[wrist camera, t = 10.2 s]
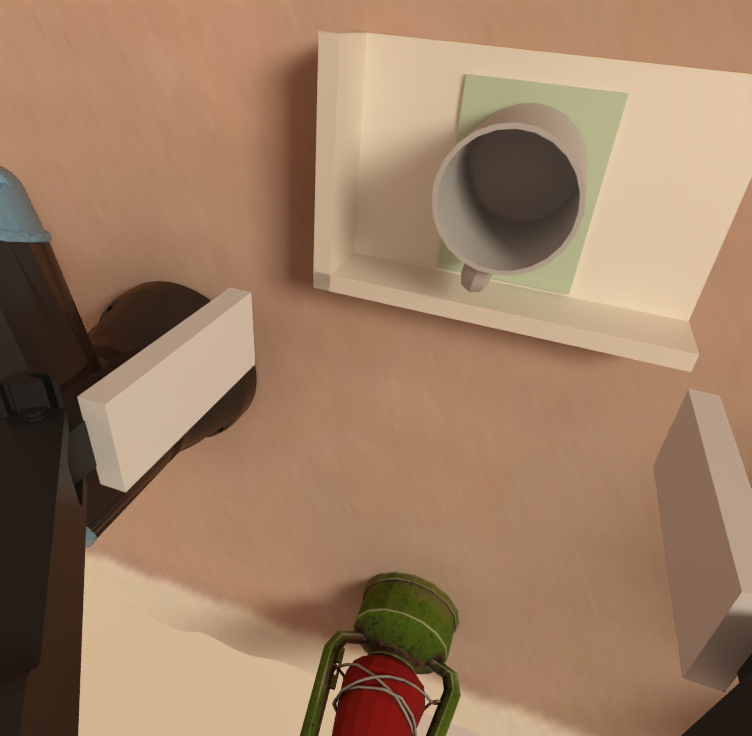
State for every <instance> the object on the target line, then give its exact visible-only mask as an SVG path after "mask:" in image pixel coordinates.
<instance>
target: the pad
mask: <svg viewBox="0 0 752 736" xmlns="http://www.w3.org/2000/svg"><path fill="white" fill-rule="evenodd" d="M628 94H629V93H623V92H615V91H606V90H598V89H590V88H582V87H573V86H565V85H557V84H548V83H540V82H532V81H524V80H515V79H507V78H499V77H490V76H482V75H474V74H466V78H465V85H464V92H463V98H462V105H461V112H460V118H459V125H458V132H457V138H456V145H457V144H458V143H459V142H460V141H461V140H462V139H463V138H464V137H466V136H467V135H468V134H469V133H470V132H472V131H473V130H474V129H475V128H476V127H478V126H479V125H480V124H481V123H482V122H484V121H485V120H486V119H488V118H489V117H491V116H492V115H493V114H495V113H496V112H498V111H499V110H502V109H505V108H507V107H510V106H513V105H516V104H524V103H538V104H543V105H548V106H551V107H553V108H555V109H557V110H558V111H560V112H562V113H564V114H565V115H566V116H567V117H568V118H569V119H570V120H571V121H572V122H573V123H574V124H575V125H576V126H577V128H578V130H579V132H580V134H581V136H582V138H583V140H584V142H585V146H586V152H587V157H588V168H587V187H586V201H585V212H584V216H583V218H582V221H581V224H580V227H579V229H578V232H577V234H576V235H575V237H574V238H573V239H572V241H571V242H570V244H569V245H568V247H567V248H566V249H565V250H564V251H563V252H562V253H561V254H560V255H558V256H557V257H556V258H555V259H554V260H553V261H551V262H550V263H548V264H546V265H544V266H542V267H540V268H538V269H536V270H534V271H532V272H528V273H523V274H519V275H514V276H509V275H492V277H491V278H492V279H497V280H502V281H507V282H512V283H517V284H521V285H526V286H531V287H536V288H541V289H546V290H551V291H556V292H561V293H566V294H569V293H570V290H571V287H572V283H573V280H574V276H575V273H576V270H577V266H578V263H579V260H580V256H581V253H582V249H583V246H584V243H585V239H586V236H587V233H588V229H589V226H590V222H591V219H592V216H593V212H594V209H595V206H596V202H597V199H598V195H599V192H600V189H601V185H602V182H603V179H604V175H605V172H606V168H607V165H608V162H609V158H610V155H611V152H612V148H613V145H614V141H615V138H616V135H617V131H618V128H619V125H620V121H621V118H622V114H623V111H624V108H625V104H626V101H627V98H628ZM456 145H455V146H456ZM463 266H464V263H463V262H461V261H460V260H459V259H458V258H457V257H456V256H455V255H454V254H453V253H452V252H451V251H450V250H449V249H448V248H447V246H446V245H445V243H444V242H443V240H442V238H441V245H440V251H439V258H438V265H437V267H438V268H443V269H448V270H453V271H458V272H461V271H462V268H463Z"/></svg>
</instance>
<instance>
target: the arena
mask: <svg viewBox="0 0 752 736" xmlns="http://www.w3.org/2000/svg"><path fill="white" fill-rule="evenodd" d="M466 74H474V75H482V76H490V77H499V78H507V79H515V80H524V81H532V82H540V83H548V84H557V85H565V86H573V87H582V88H590V89H598V90H606V91H615V92H623V93H629V94H628V98H627V101H626V104H625V108H624V111H623V114H622V118H621V121H620V125H619V128H618V131H617V135H616V138H615V141H614V145H613V148H612V152H611V155H610V158H609V162H608V165H607V168H606V172H605V175H604V179H603V182H602V185H601V189H600V192H599V195H598V199H597V202H596V206H595V209H594V212H593V216H592V219H591V222H590V226H589V229H588V233H587V236H586V239H585V243H584V246H583V249H582V253H581V256H580V260H579V263H578V266H577V270H576V273H575V276H574V280H573V283H572V287H571V290H570V293H569V294H566V293H561V292H556V291H551V290H546V289H541V288H536V287H531V286H526V285H521V284H517V283H512V282H507V281H502V280H497V279H492V278H491V279H490V281H489V283H488V285H487V286H486V287H485V288H484V289H483V290H482V291H480V292H468V291H467V290H466V289H465V288H464V287H463V286H462V285H461V272H458V271H453V270H448V269H443V268H438V267H437V265H438V258H439V251H440V245H441V237H440V235H439V234H438V231H437V228H436V224H435V221H434V218H433V213H432V192H433V187H434V182H435V177H436V175H437V173H438V171H439V169H440V167H441V165H442V163H443V161H444V159H445V158H446V156H447V155H448V154H449V153H450V152H451V151H452V149H453V148H454V147H455V145H456V138H457V132H458V125H459V118H460V112H461V105H462V98H463V92H464V85H465V78H466ZM751 177H752V74H747V73H738V72H728V71H719V70H710V69H701V68H691V67H682V66H673V65H664V64H654V63H645V62H636V61H627V60H617V59H608V58H599V57H590V56H580V55H571V54H562V53H553V52H543V51H534V50H525V49H516V48H506V47H497V46H488V45H479V44H469V43H460V42H451V41H442V40H432V39H423V38H414V37H405V36H395V35H386V34H377V33H367V32H358V31H319V35H318V82H317V129H316V175H315V222H314V269H313V288H317V289H321V290H326V291H330V292H335V293H339V294H344V295H348V296H353V297H357V298H362V299H366V300H371V301H375V302H380V303H384V304H389V305H393V306H397V307H402V308H406V309H411V310H415V311H420V312H424V313H429V314H433V315H438V316H442V317H447V318H451V319H456V320H460V321H465V322H469V323H474V324H478V325H482V326H487V327H491V328H496V329H500V330H505V331H509V332H514V333H518V334H523V335H527V336H532V337H536V338H541V339H545V340H550V341H554V342H559V343H563V344H567V345H572V346H576V347H581V348H585V349H590V350H594V351H599V352H603V353H608V354H612V355H617V356H621V357H626V358H630V359H635V360H639V361H643V362H648V363H652V364H657V365H661V366H666V367H670V368H675V369H679V370H684V371H688V372H691V371H692V369H693V367H694V365H695V363H696V361H697V358H698V356H699V352H698V349H697V346H696V343H695V340H694V337H693V333H692V330H691V327H690V324H689V319H690V317H691V314H692V312H693V310H694V308H695V305H696V303H697V301H698V298H699V296H700V294H701V292H702V289H703V287H704V285H705V282H706V280H707V278H708V276H709V273H710V271H711V269H712V266H713V264H714V262H715V260H716V257H717V255H718V253H719V250H720V248H721V246H722V244H723V241H724V239H725V237H726V234H727V232H728V230H729V227H730V225H731V223H732V221H733V218H734V216H735V214H736V211H737V209H738V207H739V205H740V202H741V200H742V198H743V195H744V193H745V191H746V189H747V186H748V184H749V182H750V179H751Z"/></svg>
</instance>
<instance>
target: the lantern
mask: <svg viewBox="0 0 752 736" xmlns="http://www.w3.org/2000/svg"><path fill="white" fill-rule="evenodd" d="M458 624H459V618H458V610H457V608H456V607H455V605H454V603H453V602H452V600H451V599H450V597H449V596H448V595H447V594H446V593H444V592H443V591H442V590H441V589H440V588H438V587H437V586H436V585H435V584H433V583H431V582H428V581H426V580H424V579H422V578H420V577H418V576H416V575H410V574H405V573H400V572H391V573H383V574H379V575H377V576H376V577H374V578H372V579H371V580H369V581H368V584H367V586H366V588H365V591H364V595H363V603H362V606H361V608H360V611H359V613H358V616H357V618H356V621H355V623H354V626H353V628H354V631H337V632H336V633H335V634H334V636H333V637H332V638H331V639H330V640H329V641H328V642H327V643H326V644H325V646H324V649H323V653H322V656H321V660H320V664H319V667H318V671H317V675H316V678H315V682H314V686H313V690H312V693H311V697H310V700H309V704H308V708H307V712H306V715H305V719H304V722H303V726H302V730H301V734H300V736H318V735H319V731H320V727H321V722H322V718H323V715H324V711H325V707H326V702H327V699H328V694H329V690H330V689H333V690H335V687H336V683H337V679H338V675H339V672H340V673H341V675H342V676H343V682H342V687H341V691H340V692H339V694H338V695H337V697H336V698H335V699H334V701H333V703H332V705H333V707H334V709H335V711H336V716H335V721H334V727H333V732H332V736H416V735H417V732H416V728H417V726H418V724H419V722H420V719H421V716H422V715H423V712H424V710H426V709H427V708H428V707H429V706H430V705H431V704H433V705H438V706H437V709H436V711H435V714H434V716H433V719H432V722H431V724H430V727H429V729H428V732H427V734H426V736H446V734H447V731H448V728H449V726H450V723H451V721H452V718H453V715H454V713H455V710H456V707H457V704H458V702H459V699H460V696H461V695H460V686H459V678H458V674H457V673H456V672H455V671H453V670H452V669H451V668H449V667H448V666H447V665H446V664H445V662H446V661H447V658H448V654H449V650H450V645H451V641H452V637H453V634H454V632H455V631H456V629H457V627H458ZM346 643H351V644H360V645H361V646H362V648H363V649H364V650H365V651H366V652H367V653H368V655H367V656H362V657H360V658H358V659H356V660H354V661H353V663H345V664H341V663H342V659H343V655H344V651H345V648H343V647H344V646H345V645H346ZM336 663H339V665H338V666H337V664H336ZM344 666H350V667H349V668H348V670H347V671H346V674H345V675H344V673H343V672H342V671H341V669H340V668H341V667H344ZM336 669H337V673H336V675H334V671H335V670H336ZM432 672H435V673H436V674H438V675H439V676H441V677H442V678H443V686H444V691H443V694H442V696H441V699H440V700H433V701H432V700H431V699H430V698H429V696H428V695H427V694H426V693H425V692H424V686H423V685H422V683H421V682H420V680H419V679H418V677H417V676H416V674H430V673H432ZM425 697H426V698H427V699H428V701H429V703H428V704H427V705H426V706H425ZM338 699H339V701H338ZM337 701H338V706H337V704H336V703H337Z"/></svg>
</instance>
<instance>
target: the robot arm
mask: <svg viewBox="0 0 752 736" xmlns="http://www.w3.org/2000/svg"><path fill="white" fill-rule="evenodd" d="M51 240H52V238H51V235H50V233H49V232H47V231H46V230H44V228H43V226H42V224H41V222H40V220H39V218H38V215H37V213H36V211H35V209H34V207H33V205H32V203H31V201H30V199H29V197H28V195H27V193H26V190H25V188H24V187H23V185H22V183H21V182H20V180H19V179H18V178H17V177H16V176H15V175H14V174H13V173H12V172H10V171H9V170H7V169H6V168H4V167H2V166H0V736H78V724H79V697H80V672H81V646H82V644H81V643H82V620H83V619H82V618H83V594H84V592H83V591H84V568H85V548H86V547H90V546H91V545H93V544H94V542H95V541H96V539H97V538H98V537H99V536H100V535H101V534H102V533H103V531H104V530H105V529H106V528H107V527H108V526H109V525H110V524H111V523H112V522H113V521H114V520H115V519H116V518H117V517H118V516H119V515H120V514H121V512H122V511H123V510H124V509H125V508H126V507H127V506H128V505H129V504H130V503H131V502H132V501H133V500H134V499H135V498H136V497H137V496H138V495H139V494H140V492H141V491H142V490H143V489H144V488H145V487H146V486H147V485H148V484H149V483H150V482H151V481H152V480H153V479H154V478H155V477H156V476H157V475H158V473H159V472H160V471H161V470H162V469H163V468H164V467H165V466H166V465H167V464H168V463H169V462H170V461H171V460H172V459H173V458H174V457H175V456H176V455H177V454H178V453H179V452H180V451H182V450H185V449H187V448H189V447H191V446H193V445H195V444H197V443H198V442H200V441H201V440H203V439H204V438H206V437H211V436H214V435H217V434H219V433H221V432H223V431H225V430H226V429H228V428H229V427H230V426H232V425H233V424H234V423H235V422H236V421H237V420H238V419H239V418H240V416H241V415H242V414H243V413H244V412H245V411H246V410H247V409H248V407H249V406H250V404H251V402H252V400H253V397H254V394H255V390H256V370H255V354H254V336H253V317H252V298H251V292H248V291H244V290H239V289H235V288H229V289H227V290H226V291H225V292H223V293H222V294H220V295H219V296H218V297H216V298H215V299H213V300H212V301H210V300H209V299H207V298H206V297H204V296H203V295H201V294H199V293H198V292H196V291H194V290H192V289H190V288H187V287H185V286H182V285H179V284H175V283H170V282H159V281H158V282H148V283H144V284H141V285H139V286H136V287H135V288H133V289H131V290H129V291H127V292H126V293H124V294H122V295H121V296H119V297H117V298H116V299H115V300H114V301H113V302H112V303H111V304H110V305H109V306H108V307H107V308H106V310H105V311H104V313H103V314H102V316H101V318H100V321H99V323H98V324H97V325H96V326H95V327H94V328H93V329H92V330H91V331H90V332H89V333H88V334H87V332H86V329H85V327H84V325H83V322H82V320H81V317H80V315H79V312H78V310H77V308H76V305H75V303H74V300H73V298H72V295H71V293H70V291H69V288H68V286H67V283H66V281H65V278H64V276H63V274H62V271H61V269H60V266H59V264H58V261H57V259H56V257H55V254H54V252H53V249H52V247H51V244H50V242H49V241H51ZM653 466H654V473H655V481H656V488H657V495H658V502H659V510H660V517H661V524H662V531H663V539H664V546H665V553H666V560H667V568H668V575H669V582H670V590H671V597H672V604H673V611H674V619H675V626H676V633H677V640H678V648H679V655H680V662H681V669H682V677H683V678H684V679H687V680H690V681H693V682H696V683H699V684H702V685H705V686H708V687H711V688H714V689H717V690H720V691H723V692H725V691H726V690H727V688H728V687H729V686H730V685H731V683H732V682H733V681H734V679H735V678H736V677H737V676H738V679H739V684H738V685H737V686H736V687H734V688H733V689H732V690H731V691H730V692H729V693H728V694H727V695H726V696H725V697H723V698H722V699H721V700H720V701H719V702H718V703H717V704H716V705H715V706H713V707H712V708H711V709H710V710H709V711H708V712H707V713H706V714H705V715H704V716H702V717H701V718H700V719H699V720H698V721H697V722H696V723H695V724H694V725H693V726H691V727H690V728H689V729H688V730H687V731H686V732H685V733H684V734H683V735H681V736H752V489H751V486H750V483H749V480H748V477H747V474H746V472H745V469H744V466H743V463H742V460H741V457H740V454H739V451H738V448H737V445H736V442H735V440H734V437H733V434H732V431H731V428H730V425H729V422H728V419H727V416H726V413H725V410H724V408H723V405H722V402H721V399H720V396H718V395H713V394H708V393H704V392H699V391H695V390H690V389H688V391H687V393H686V396H685V398H684V400H683V402H682V404H681V406H680V409H679V411H678V413H677V415H676V417H675V420H674V422H673V424H672V426H671V428H670V430H669V433H668V435H667V437H666V439H665V441H664V443H663V446H662V448H661V450H660V452H659V454H658V457H657V459H656V461H655V463H654V465H653Z"/></svg>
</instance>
